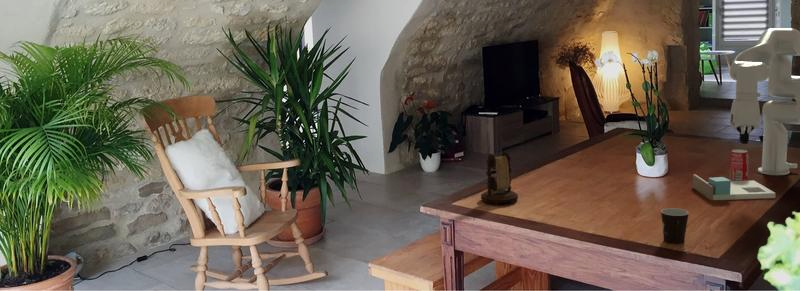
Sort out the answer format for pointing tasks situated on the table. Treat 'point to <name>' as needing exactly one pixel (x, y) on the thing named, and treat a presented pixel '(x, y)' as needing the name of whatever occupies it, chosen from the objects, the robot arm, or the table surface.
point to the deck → (733, 190)
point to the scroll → (499, 180)
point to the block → (720, 185)
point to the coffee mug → (674, 225)
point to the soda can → (739, 165)
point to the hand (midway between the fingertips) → (744, 143)
